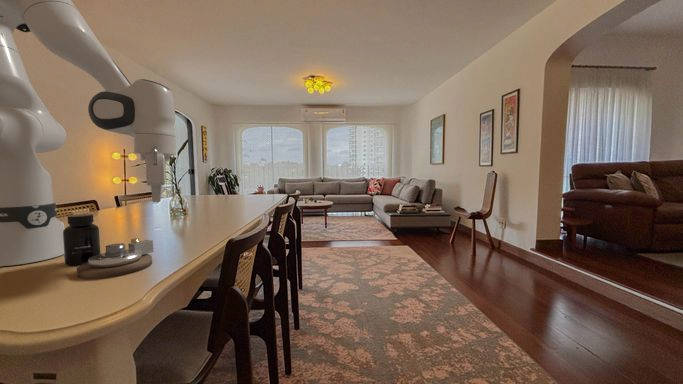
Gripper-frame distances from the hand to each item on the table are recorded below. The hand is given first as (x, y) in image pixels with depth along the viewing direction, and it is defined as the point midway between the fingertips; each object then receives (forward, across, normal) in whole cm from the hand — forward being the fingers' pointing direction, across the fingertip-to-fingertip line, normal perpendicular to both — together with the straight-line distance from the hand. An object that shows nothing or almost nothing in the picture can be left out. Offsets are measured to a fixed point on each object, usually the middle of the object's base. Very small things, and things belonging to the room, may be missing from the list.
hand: (156, 201), depth 75 cm
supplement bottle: (+16, +7, +16) cm, 24 cm away
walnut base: (+15, -3, +8) cm, 18 cm away
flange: (+13, -2, +7) cm, 15 cm away
